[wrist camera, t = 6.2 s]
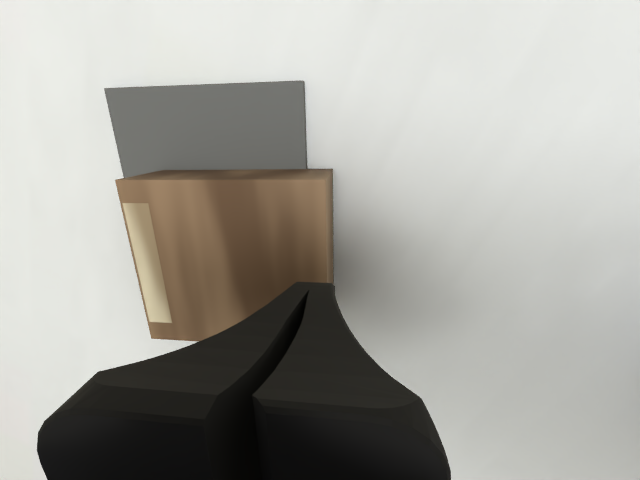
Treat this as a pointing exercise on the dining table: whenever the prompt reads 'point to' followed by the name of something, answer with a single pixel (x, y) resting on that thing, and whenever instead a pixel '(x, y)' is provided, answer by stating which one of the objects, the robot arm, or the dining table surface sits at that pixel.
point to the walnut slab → (224, 242)
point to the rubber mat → (209, 126)
